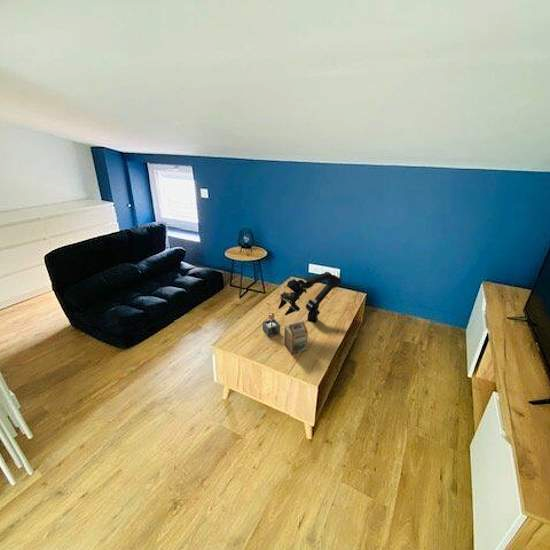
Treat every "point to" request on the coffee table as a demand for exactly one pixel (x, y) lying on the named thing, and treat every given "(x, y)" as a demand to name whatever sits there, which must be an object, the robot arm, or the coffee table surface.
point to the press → (271, 328)
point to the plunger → (271, 316)
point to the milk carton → (296, 337)
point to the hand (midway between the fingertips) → (281, 311)
